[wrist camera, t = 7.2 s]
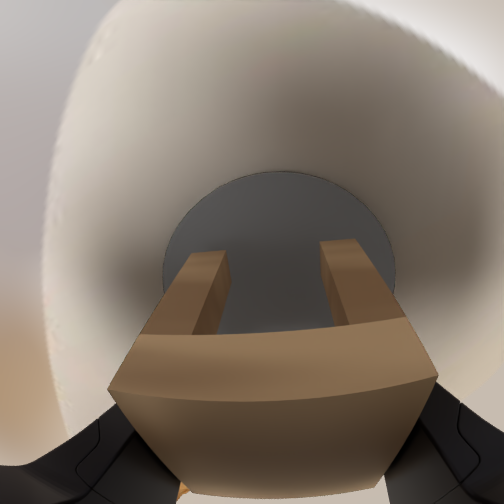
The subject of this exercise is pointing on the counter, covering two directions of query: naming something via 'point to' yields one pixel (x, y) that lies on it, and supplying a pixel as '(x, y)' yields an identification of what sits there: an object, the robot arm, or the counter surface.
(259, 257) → the charcoal mat
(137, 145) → the counter surface
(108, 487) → the robot arm
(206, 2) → the counter surface
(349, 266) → the oak stool
